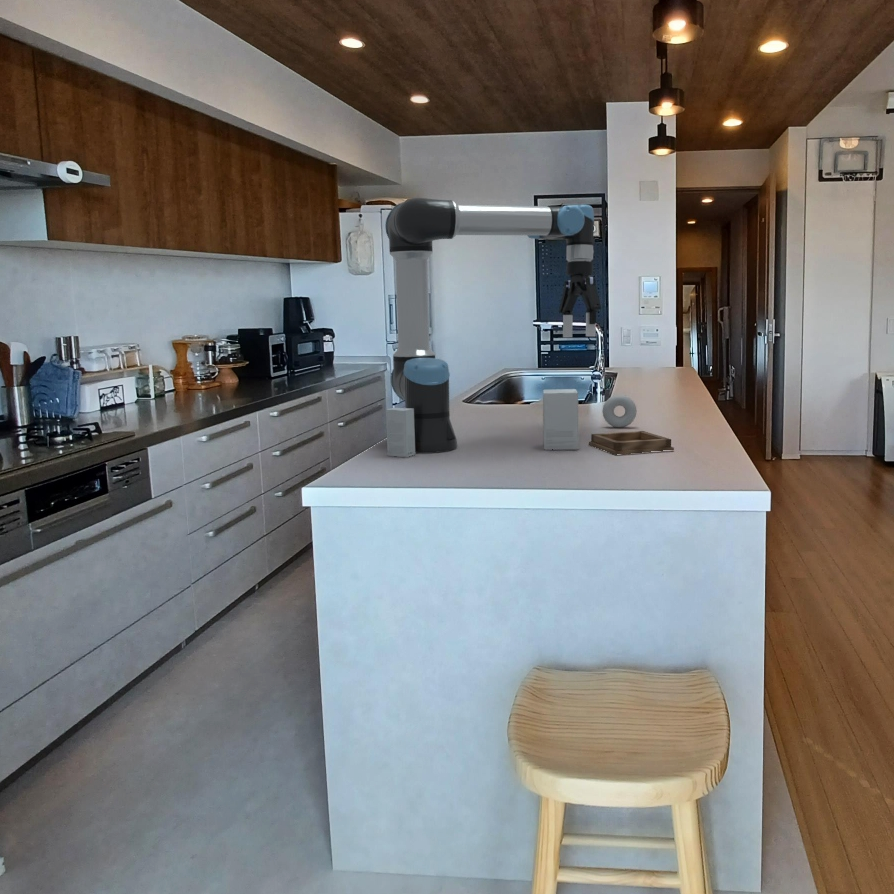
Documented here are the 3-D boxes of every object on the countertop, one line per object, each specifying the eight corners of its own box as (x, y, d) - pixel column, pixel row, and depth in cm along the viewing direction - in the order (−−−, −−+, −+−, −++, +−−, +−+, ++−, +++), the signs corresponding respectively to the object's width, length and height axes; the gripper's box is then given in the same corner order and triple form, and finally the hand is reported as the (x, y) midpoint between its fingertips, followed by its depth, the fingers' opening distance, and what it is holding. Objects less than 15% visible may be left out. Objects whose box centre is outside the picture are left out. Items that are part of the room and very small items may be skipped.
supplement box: (577, 444, 230) (577, 388, 227) (578, 450, 221) (579, 392, 219) (542, 444, 231) (542, 388, 228) (543, 450, 222) (543, 392, 220)
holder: (615, 455, 213) (615, 443, 212) (588, 445, 228) (588, 434, 228) (673, 451, 217) (674, 439, 216) (643, 441, 232) (643, 430, 232)
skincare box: (415, 455, 219) (414, 408, 217) (406, 458, 215) (405, 410, 213) (396, 453, 222) (394, 407, 220) (386, 456, 218) (385, 409, 216)
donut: (602, 428, 256) (602, 395, 255) (602, 426, 260) (602, 393, 258) (636, 428, 255) (637, 395, 253) (636, 427, 258) (636, 393, 256)
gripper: (614, 257, 234) (613, 336, 237) (570, 266, 258) (569, 337, 260) (590, 256, 232) (588, 335, 234) (548, 265, 255) (547, 337, 257)
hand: (578, 337), depth 247 cm, fingers open, 13 cm apart
